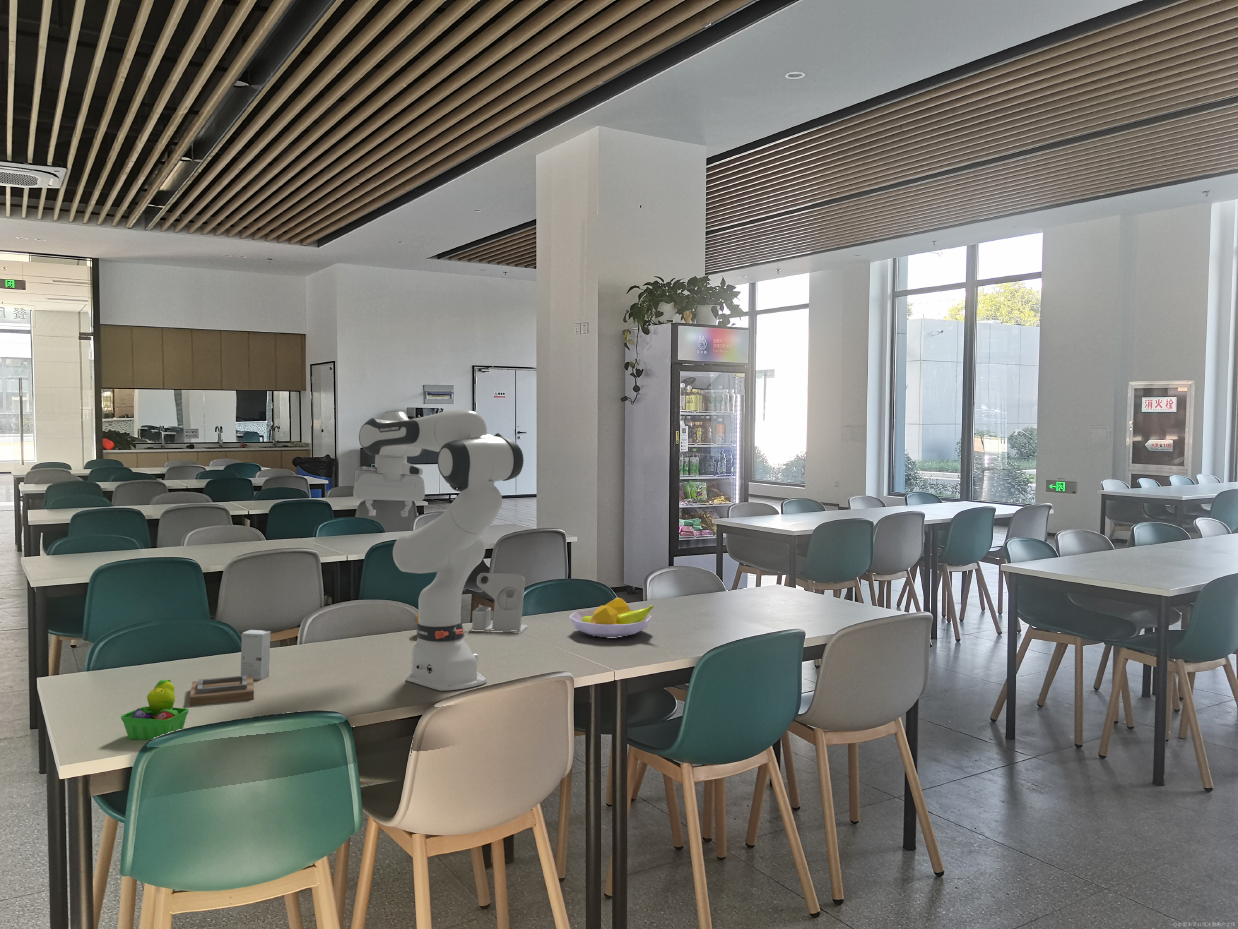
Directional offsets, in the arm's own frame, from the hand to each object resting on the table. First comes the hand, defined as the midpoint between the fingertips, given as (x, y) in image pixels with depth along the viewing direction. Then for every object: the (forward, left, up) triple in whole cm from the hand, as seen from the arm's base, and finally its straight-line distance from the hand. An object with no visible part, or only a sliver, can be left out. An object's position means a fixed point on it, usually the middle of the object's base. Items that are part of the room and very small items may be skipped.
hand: (388, 516), depth 257 cm
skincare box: (+1, +37, -41) cm, 55 cm away
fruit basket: (-33, +67, -41) cm, 85 cm away
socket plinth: (-10, +48, -41) cm, 63 cm away
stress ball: (+20, -23, -41) cm, 51 cm away
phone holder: (+15, -46, -41) cm, 63 cm away
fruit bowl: (-13, -71, -41) cm, 84 cm away
